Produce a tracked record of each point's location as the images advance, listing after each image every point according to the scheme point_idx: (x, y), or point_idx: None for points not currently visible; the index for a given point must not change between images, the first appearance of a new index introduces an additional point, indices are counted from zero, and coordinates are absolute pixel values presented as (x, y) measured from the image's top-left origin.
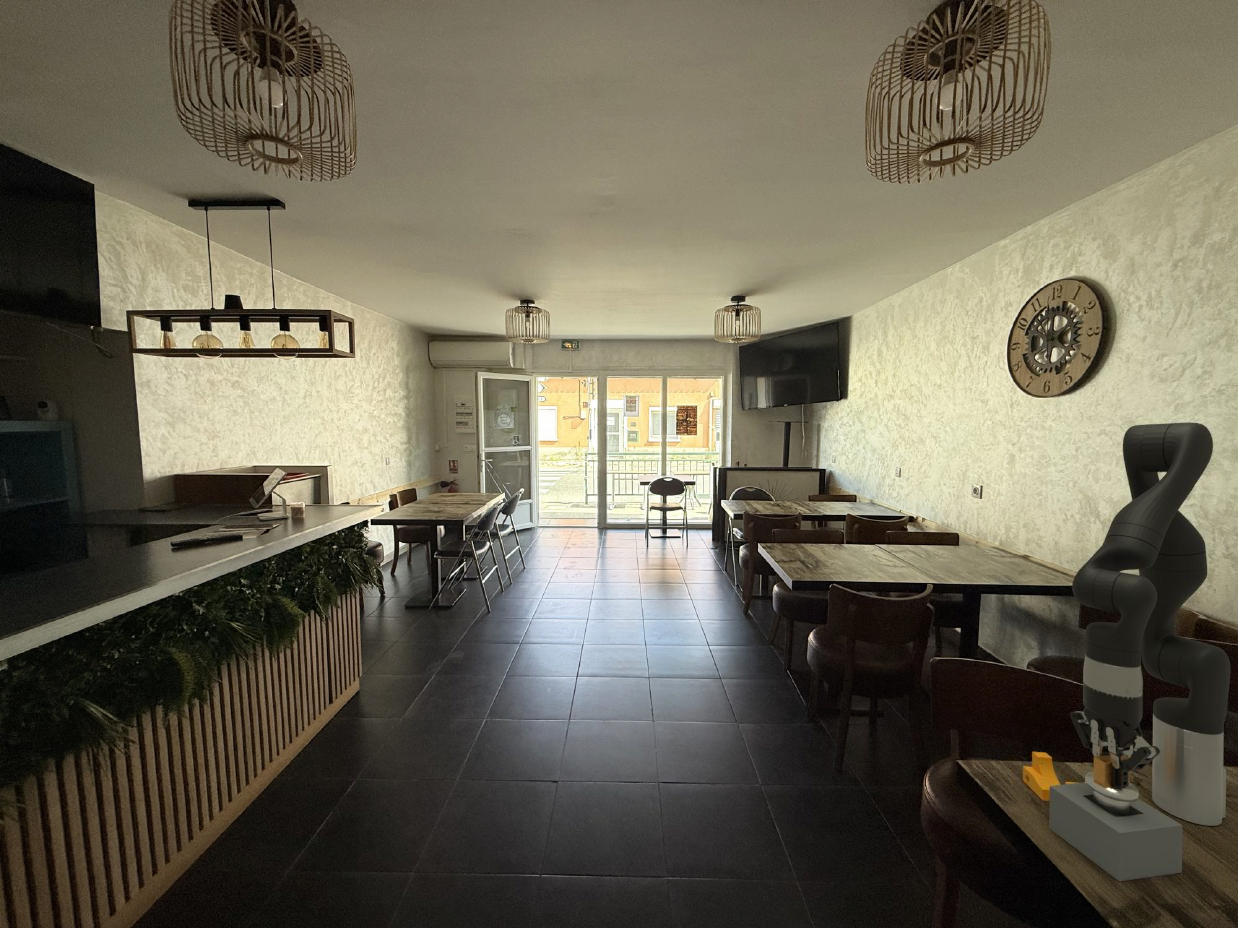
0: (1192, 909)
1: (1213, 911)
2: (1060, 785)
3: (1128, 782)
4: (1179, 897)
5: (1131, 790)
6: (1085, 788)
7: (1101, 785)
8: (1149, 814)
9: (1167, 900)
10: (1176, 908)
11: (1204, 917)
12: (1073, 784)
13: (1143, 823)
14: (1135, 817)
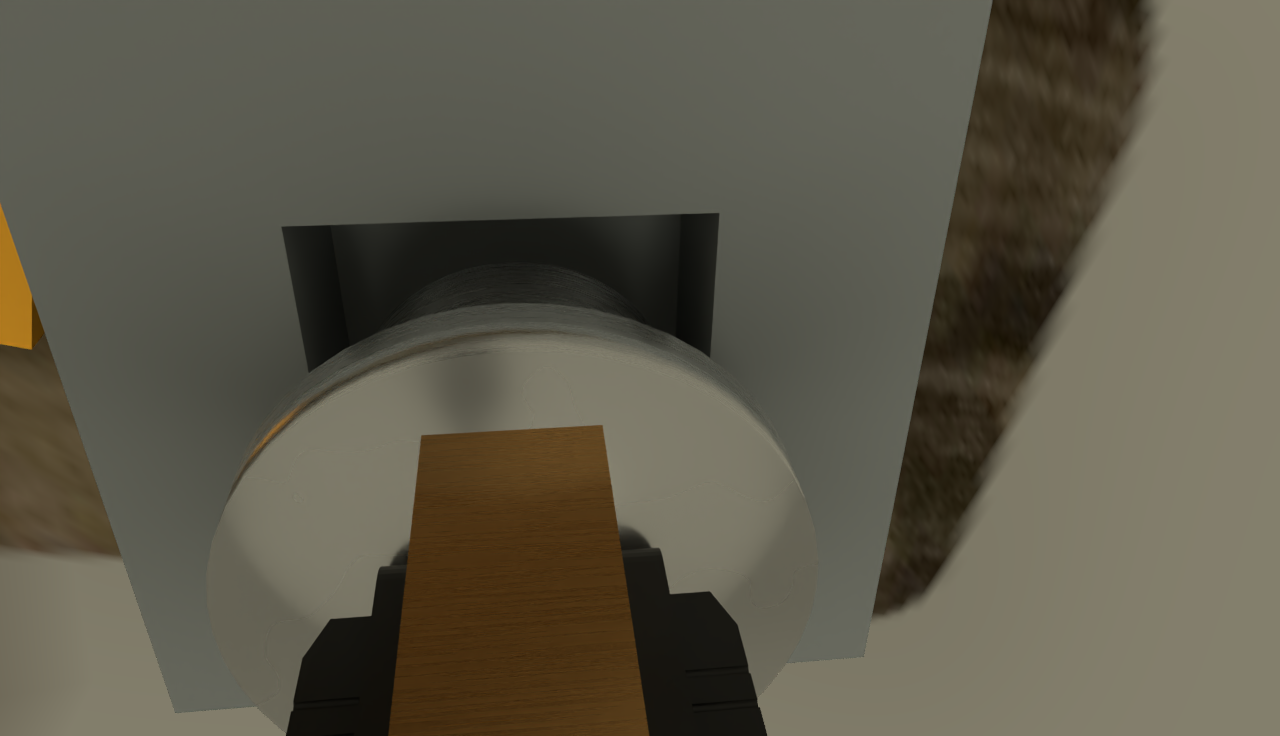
0: (1044, 198)
1: (1107, 79)
2: (158, 624)
3: (741, 647)
4: (962, 176)
5: (720, 507)
6: (200, 429)
7: None
8: (740, 157)
9: (950, 275)
10: (1004, 284)
11: (1104, 192)
12: (118, 489)
13: (835, 373)
14: (745, 364)
